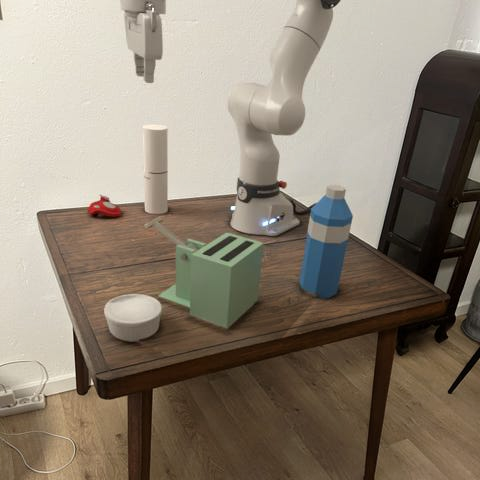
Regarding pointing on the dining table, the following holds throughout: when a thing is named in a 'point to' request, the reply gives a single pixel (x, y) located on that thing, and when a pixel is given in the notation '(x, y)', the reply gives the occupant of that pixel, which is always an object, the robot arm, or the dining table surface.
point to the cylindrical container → (155, 168)
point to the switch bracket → (182, 275)
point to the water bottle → (326, 243)
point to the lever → (168, 233)
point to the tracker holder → (104, 208)
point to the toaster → (225, 279)
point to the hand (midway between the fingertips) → (144, 79)
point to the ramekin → (133, 316)
